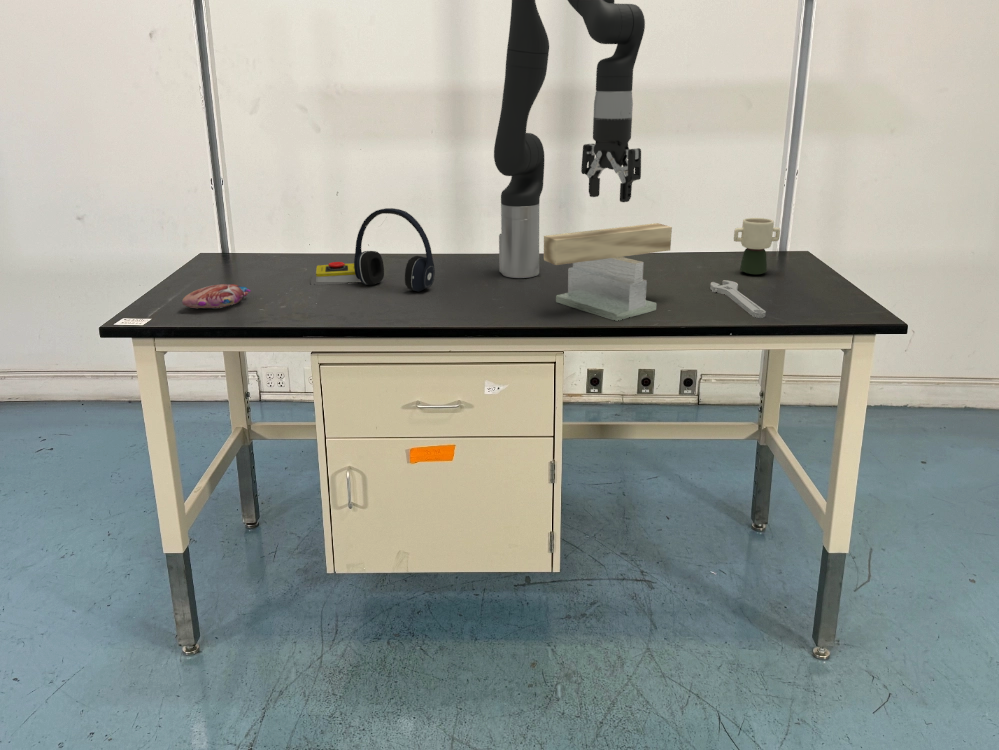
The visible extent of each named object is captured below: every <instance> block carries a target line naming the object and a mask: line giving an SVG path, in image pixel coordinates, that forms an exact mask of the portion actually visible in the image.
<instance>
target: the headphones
mask: <svg viewBox="0 0 999 750" xmlns="http://www.w3.org/2000/svg"><path fill="white" fill-rule="evenodd" d="M383 214H386V215H387V214H389V215H390V214H392V215H396V216H397V217H398V216H399V217H401V218H403V219H404V220H406V221H407V222H408V223H409V224H410V225H412V227H413V228H414V229H415V230H416V232H417V233H418V235H419V237H420V239H421V240H422V243H423V245H424V246H423V247H424V249H425V256H426V257H425V256H421V255H415V256H413V257H411V258H409V259H408V261H407V263H406V265H405V266H406V267H405V269H404V284H405V287H406V288H407V289H409V290H411V291H415V292H422V291H424V290H425V289H428V288H429V289H430V287H432V286H433V283H434V281H435V275H436V274H435V273H436V272H435V271H436V268H435V263H434V259H433V252H432V248H431V247H432V246H431V244H430V241H429V239H428V236H427V234H426V232H425V230H424V229H423V227H422V225H421V223H419V221H417V219H416V218H415V217H414V216H413V215H412V214H410V213H408V212H407V211H406V210H403V209H399V208H392V207H390V208H386V207H384V208H380V209H377V210H374V211H373V212H371V213H370V214H369V215H368V216H366V218H365V219H364V220H363V222H362V224H361V226H360V227H359V230H358V232H357V237H356V242H355V248H354V249H355V251H354V259H353V260H354V261H353V263H354V270H355V274H356V277H357V278H358V279H360V281H361V282H362V284H363V285H366V286H371V285H377V284H379V283H381V282H382V280H384V277H385V266H384V261H383V258H382V255H381V254H380V253H379V252H378V251H377V250H376V251H375V250H362V246H363V245H362V242H363V238H364V234H365V231H366V229H367V227H368V226H369V224H370V223H371V222H372V221H373V220H374V219H375V218H377V217H378V216H379V215H383Z"/></svg>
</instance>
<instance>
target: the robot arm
mask: <svg viewBox="0 0 999 750" xmlns="http://www.w3.org/2000/svg"><path fill="white" fill-rule="evenodd" d="M567 1H568V3H569V5H570V6H571V7H572V8H573V9H574V10H575V11H576V13H578V15H579V16H581V17H582V19H583V22H584V25H585V27H586V30H587V32H588V35H589V37H591V39H592V40H593V41H595V42H597V43H598V44H601V45H616V48H615V49H614V52H613V54H612V55H611V56H609V57H605V58H603V59H600V60H599V61H598V62H597V65H596V73H595V76H596V77H595V79H596V80H595V96H594V101H593V102H594V103H593V120H592V122H593V123H592V124H593V125H592V140H593V141H595V142H594V143H585V144H583V146H582V153H581V156H582V157H581V167H580V168H581V169H580V172H581V174H582V175H585V176H587V178H588V194H589V197H590V198H596V197H599V196H600V190H601V187H600V185H601V178H600V175H601V174H602V172H603V171H604V170H606V169H608V170H613V171H614V173H615V174H617V176H618V177H619V179H620V181H621V183H620V182H619V183H620V186H619V202H620V203H628V202H630V200H631V198H632V189H633V182H636V181H639V180H640V179H641V177H642V149H641V148H639V147H638V148H629V141H631V139H632V129H633V127H632V125H633V124H632V123H633V110H634V109H633V105H634V103H633V102H634V101H633V84H634V83H633V81H634V68H635V64H636V61H637V59H638V58H637V57H638V54H639V50H640V47H641V44H642V40H643V37H644V34H645V28H646V25H645V24H646V19H645V15H644V13H643V10H642V9H641V8H640V6H638V5H636V4H633V3H615V0H567ZM536 3H537V2H536V0H511V6H510V19H509V20H510V21H509V32H508V40H507V47H506V48H507V49H506V56H505V57H506V58H505V68H504V69H505V72H504V73H505V74H504V83H503V92H502V101H501V109H500V115H499V120H498V126H497V131H496V136H495V141H494V148H493V159H494V160H493V161H494V164H495V167H496V169H497V170H498V172H499V173H501V174H502V175H503V176H506V177H510V182H509V183H508V185H507V186H506V187H505V188H504V189H503V190H502V191H501V194H500V219H501V220H500V226H501V227H500V230H501V233H499V235H498V246H499V247H498V256H499V257H498V258H499V259H498V261H499V264H498V265H499V266H498V267H499V273H501V275H503V276H504V277H507V278H514V279H525V278H533V277H536V276H538V275H539V274H540V199H541V198H540V197H541V194H542V192H543V188H544V179H545V178H544V175H545V174H544V173H545V151H544V150H545V149H544V145H543V142H542V141H541V139H540V138H539V136H538V135H535V134H534V133H531V132H527V128H528V127H527V126H528V120H529V115H530V112H531V109H532V107H533V105H534V103H535V101H536V99H537V97H538V96H539V93H540V91H541V89H542V87H543V85H544V83H545V80H546V76H547V71H548V62H549V54H550V53H549V52H550V41H549V37H548V34H547V31H546V28H545V26H544V23H543V21H542V18H541V16H540V13H539V10H538V8H537V4H536Z"/></svg>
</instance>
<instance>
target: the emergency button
mask: <svg viewBox="0 0 999 750" xmlns="http://www.w3.org/2000/svg"><path fill="white" fill-rule="evenodd" d="M315 275H316V282H356V281H360V279H358V278H357V277H356V274H355V270H354V262H353V263H344V262H343V261H333V262H329V263H328V264H318V265H316V270H315Z"/></svg>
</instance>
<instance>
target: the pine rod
mask: <svg viewBox="0 0 999 750" xmlns="http://www.w3.org/2000/svg"><path fill="white" fill-rule="evenodd" d="M672 229H673V226H670V225H665V224H662V223H660V222H659V223H658V222H655V223H648V224H637V225H629V226H619V227H612V228H603V229H602V228H601V229H594V230H593V229H592V230H584V231H575V232H574V231H573V232H567V233H558V234H557V233H556V234H549V235H543V261H544V262H547V263H549V264H552V265H554V266H559V265H560V266H561V265H566V264H567V265H568V264H569V265H570V264H573V263H577V262H585V261H592V260H600V259H608V258H616V257H630V256H638V255H645V254H653V253H661V252H669V251H671V245H672Z"/></svg>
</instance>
